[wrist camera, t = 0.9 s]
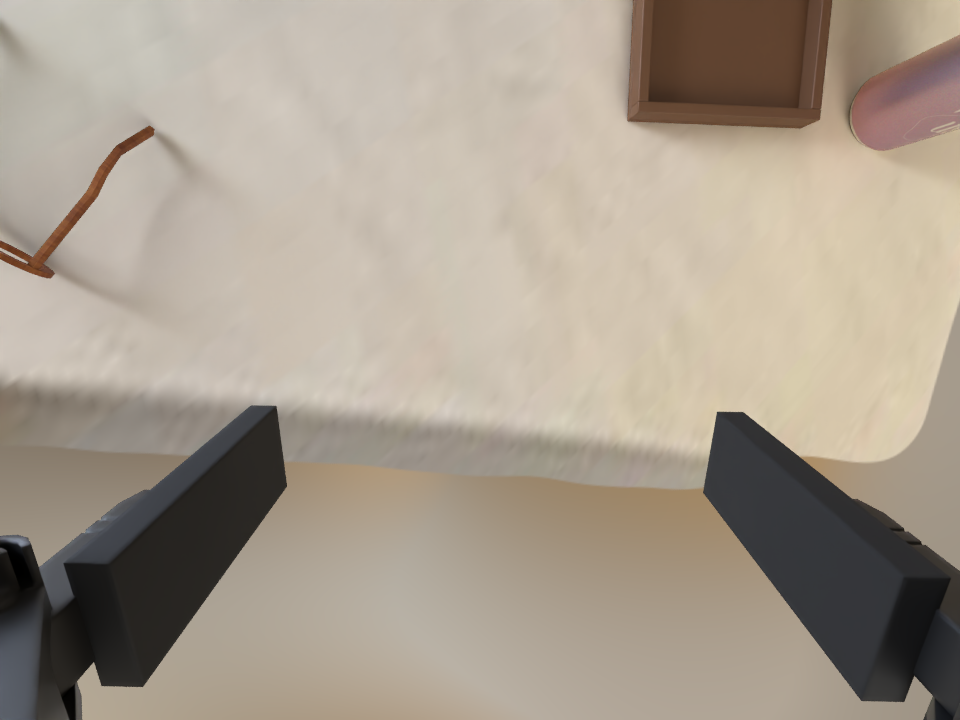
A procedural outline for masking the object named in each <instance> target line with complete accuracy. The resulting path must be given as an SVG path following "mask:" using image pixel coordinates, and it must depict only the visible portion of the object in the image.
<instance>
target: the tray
mask: <svg viewBox="0 0 960 720" xmlns="http://www.w3.org/2000/svg"><path fill="white" fill-rule="evenodd" d="M831 8H832V0H633V17H632V37H631V58H630V79H629V99H628V120H627V121H634V122H658V123H682V124H707V125H731V126H756V127H780V128H803V127H805V126H807V125H809V124H811V123H814V122H816V121H818V120H820V113H821V110H820V109H821V104H822V94H823V84H824V75H825V65H826V56H827V46H828V36H829V27H830V17H831Z"/></svg>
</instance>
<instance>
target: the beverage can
mask: <svg viewBox="0 0 960 720" xmlns="http://www.w3.org/2000/svg"><path fill="white" fill-rule="evenodd" d="M850 126H851V129H852V132H853V134H854V136H855V137H856V139H857V140H858V141H859V142H860V143H861V144H863V145H865V146H867V147H869V148H872V149H875V150H880V151H886V150H891V149H894V148H898V147H901V146H904V145H908V144H911V143H914V142H917V141H921V140H924V139H927V138H931V137H934V136H937V135H940V134H944V133H947V132H950V131H954V130H957V129H960V35H958V36H956V37H954V38H952V39H950V40H948V41H946V42H944V43H942V44H940V45H937V46H935V47H933V48H931V49H929V50H927V51H925V52H923V53H921V54H919V55H917V56H915V57H913V58H910V59H908V60H906V61H904V62H902V63H900V64H898V65H896V66H894V67H892V68H890V69H888V70H886V71H884V72H881V73H879V74H877V75H875V76H874V77H872V78H871V79H869V80H868V81H867V82H866V83H865V84H864V85H863V86H862V87H861V89H860V90H859V92H858V93H857V95H856V96H855V98H854V100H853V103H852V105H851V109H850Z"/></svg>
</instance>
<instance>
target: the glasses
mask: <svg viewBox="0 0 960 720" xmlns="http://www.w3.org/2000/svg"><path fill="white" fill-rule="evenodd" d="M153 135H154V129H153V128H152V127H151V126H148V127H146V128H145V129H143V130H141V131H140V132H138V133H136V134H135V135H133V136H131V137H130V138H128V139H127V140H125V141H123V142H122V143H120V144H118V145H117V146H116V147H115V148H114V149H113V151H112V152H111V153H110V154H109V156H108V157H107V158H106V159H105V161H104V162H103V163H102V164H101V166H100V167H99V169H98V171H97V173H96V175H95V177H94V178H93V180H92V182H91V184H90V186H89V188H88V190H87V192H86V193H85V194H84V195H83V196H82V198H81V199H80V200H79V201H78V203H77V204H76V205H75V206H74V208H73V209H72V210H71V211H70V212H69V214H68V215H67V216H66V217H65V219H64V220H63V221H62V222H61V224H60V225H59V226H58V227H57V228H56V230H55V231H54V232H53V233H52V235H51V236H50V237H49V238H48V239H47V241H46V242H45V243H44V244H43V246H42V247H41V248H40V249H39V251H38V252H37V253H36V254H35V255H34V257H31V256H30V255H28V254H26V253H24V252H22V251H20V250H19V249H17V248H15V247H13V246H11V245H9V244H7V243H5V242H2V241H0V248H2V249H4V250H7V251H9V252H11V253H13V254H14V255H16V256H18V257H20V258H22V259H24V260H25V261H27V262H29V263H28V264H26V263H24V262H21V261H19V260H17V259H15V258H13V257H11V256H9V255H7V254H5V253H3V252H1V251H0V259H1V260H3V261H5V262H7V263H9V264H11V265H13V266H15V267H18V268H20V269H22V270H24V271H27V272H29V273H32V274H35V275H38V276H41V277H45V278H52V276H53V275H54V274H55V273H54V271H53V270H51V269H50V268H49V267H47V266H46V265H44V264H43V263H44V262H45V261H46V260H47V258H48V257H49V256H50V255H51V254H52V252H53V251H54V250H55V249H56V247H57V246H58V245H59V244H60V242H61V241H62V240H63V239H64V237H65V236H66V235H67V234H68V233H69V231H70V230H71V229H72V228H73V226H74V225H75V224H76V223H77V221H78V220H79V219H80V218H81V217H82V215H83V214H84V213H85V212H86V210H87V209H88V208H89V207H90V205H91V204H92V203H93V202H94V200H95V199H96V198H97V197H98V195H99V193H100V190H101V188H102V186H103V184H104V182H105V180H106V178H107V176H108V174H109V173H110V171H111V170H112V168H113V167H114V165H115V164H116V162H117V161H118V159H119V158H120V156H121V155H123V154H124V153H126V152H127V151H129V150H131V149H132V148H134V147H135V146H137V145H139V144H140V143H142V142H143V141H145V140H147V139H148V138H150V137H151V136H153Z"/></svg>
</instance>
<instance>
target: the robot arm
mask: <svg viewBox="0 0 960 720" xmlns="http://www.w3.org/2000/svg"><path fill="white" fill-rule="evenodd" d="M286 487H287V483H286V475H285V467H284V460H283V452H282V445H281V437H280V429H279V422H278V414H277V407H276V406H250V407H249V408H247V409H246V410H245V411H244V412H243V413H242V414H240V415H239V416H238V417H237V418H236V419H234V420H233V421H232V422H231V423H230V424H228V425H227V426H226V427H225V428H224V429H222V430H221V431H220V432H219V433H218V434H216V435H215V436H214V437H213V438H212V439H210V440H209V441H208V442H207V443H206V444H205V445H203V446H202V447H201V448H200V449H199V450H197V451H196V452H195V453H194V454H193V455H191V456H190V457H189V458H188V459H187V460H186V461H184V462H183V463H182V464H181V465H180V466H178V467H177V468H176V469H175V470H174V471H172V472H171V473H170V474H169V475H168V476H166V477H165V478H164V479H163V480H162V481H160V482H159V483H158V484H157V485H156V486H155V487H153V488H152V489H151V490H143V491H141V492H139V493H138V494H135V495H134V496H132V497H130V498H128V499H126V500H124V501H122V502H120V503H119V504H117V505H116V506H115V507H114V508H113V509H111V510H110V511H109V512H107V513H106V514H105V515H104V516H102V518H101V520H98V521H96V522H95V523H94V524H93V525H91V526H90V527H89V528H88V529H86V532H85V533H81V534H80V535H79V536H78V537H76V538H75V539H74V540H73V541H71V542H70V543H69V544H68V545H67V546H65V547H64V548H63V549H61V550H60V551H59V552H58V553H56V554H55V555H54V556H53V557H51V558H50V559H49V560H48V561H46V562H45V563H44V564H43V565H42V566H40V567H38V564H37V561H36V558H35V555H34V552H33V549H32V546H31V543H30V541H29V539H28V538H27V537H23V536H19V535H6V536H0V720H82V700H81V693H80V690H79V687H78V684H77V681H78V679H79V678H80V677H81V676H82V675H83V674H84V672H85V671H86V670H87V669H88V668H89V667H90V665H91V664H92V663H93V662H94V663H95V666H96V670H97V673H98V676H99V679H100V682H101V685H102V686H124V687H127V686H128V687H143V686H144V685H145V683H146V682H147V680H148V679H149V678H150V676H151V675H152V674H153V672H154V671H155V669H156V668H157V667H158V665H159V664H160V662H161V661H162V660H163V658H164V657H165V655H166V654H167V653H168V651H169V650H170V648H171V647H172V646H173V644H174V643H175V641H176V640H177V639H178V637H179V636H180V634H181V633H182V632H183V630H184V629H185V628H186V626H187V624H188V623H189V622H190V621H191V619H192V618H193V616H194V615H195V614H196V612H197V611H198V609H199V608H200V607H201V605H202V604H203V603H204V601H205V600H206V598H207V597H208V596H209V594H210V593H211V591H212V590H213V589H214V587H215V586H216V584H217V583H218V581H219V580H220V579H221V577H222V576H223V575H224V573H225V572H226V570H227V569H228V568H229V566H230V565H231V563H232V562H233V561H234V559H235V558H236V557H237V555H238V554H239V552H240V551H241V550H242V548H243V547H244V545H245V544H246V543H247V541H248V540H249V538H250V537H251V536H252V534H253V533H254V531H255V530H256V529H257V527H258V526H259V525H260V523H261V522H262V520H263V519H264V518H265V516H266V515H267V513H268V512H269V511H270V509H271V508H272V506H273V505H274V504H275V502H276V501H277V499H278V498H279V497H280V495H281V494H282V493H283V491H284V490H285V488H286ZM703 493H704V494H705V496H706V497H707V498H708V499H709V501H710V502H711V504H712V505H713V506H714V507H715V509H716V510H717V511H718V513H719V514H720V515H721V517H722V518H723V519H724V521H725V522H726V523H727V525H728V526H729V527H730V529H731V530H732V531H733V532H734V534H735V535H736V536H737V538H738V539H739V540H740V542H741V543H742V544H743V546H744V547H745V548H746V550H747V551H748V552H749V554H750V555H751V556H752V557H753V559H754V560H755V561H756V563H757V564H758V565H759V567H760V568H761V569H762V571H763V572H764V573H765V575H766V576H767V577H768V579H769V580H770V581H771V582H772V584H773V585H774V586H775V588H776V589H777V590H778V591H779V593H780V594H781V596H782V597H783V598H784V600H785V601H786V602H787V603H788V605H789V606H790V607H791V609H792V610H793V611H794V613H795V614H796V615H797V617H798V618H799V619H800V621H801V622H802V623H803V625H804V626H805V627H806V629H807V630H808V631H809V632H810V634H811V635H812V636H813V638H814V639H815V640H816V642H817V643H818V644H819V646H820V647H821V648H822V650H823V651H824V652H825V654H826V655H827V656H828V657H829V659H830V660H831V661H832V663H833V664H834V665H835V667H836V668H837V669H838V671H839V672H840V673H841V674H842V676H843V677H844V679H845V680H846V681H847V682H848V684H849V685H850V686H851V687H852V689H853V690H854V691H855V693H856V694H857V696H858V697H859V698H860V700H861V701H888V702H892V701H893V702H904V701H905V698H906V695H907V693H908V690H909V688H910V685H911V683H912V680H913V677H914V676H915V677H916V678H917V679H918V680H919V681H920V682H921V683H922V684H923V685H924V686H925V688H926V689H927V690H928V691H929V692H930V693H931V694H932V695H933V697H932V700H931V702H930V705H929V707H928V710H927V712H926V714H925V717H924V719H923V720H960V571H959V570H957V569H956V568H955V567H953V566H952V565H951V564H950V563H948V562H947V561H946V560H944V559H943V558H942V557H940V556H939V555H938V554H936V553H935V552H934V551H932V550H931V549H930V548H929V547H927V546H926V545H922V544H921V541H920V540H918V539H917V538H916V537H914V536H913V535H912V534H911V533H909V532H905V531H904V528H903V527H901V526H900V525H899V524H898V523H896V522H895V521H894V520H892V519H891V518H890V517H888V516H887V515H886V514H885V513H883V512H881V511H879V510H877V509H875V508H873V507H871V506H869V505H867V504H866V503H864V502H862V501H860V500H858V499H852V498H850V497H849V496H848V495H846V494H845V493H844V492H843V491H841V490H840V489H839V488H838V487H836V486H835V485H834V484H833V483H831V482H830V481H829V480H828V479H826V478H825V477H824V476H823V475H821V474H820V473H819V472H818V471H816V470H815V469H814V468H812V467H811V466H810V465H809V464H808V463H806V462H805V461H804V460H803V459H801V458H800V457H799V456H798V455H796V454H795V453H794V452H793V451H791V450H790V449H789V448H788V447H786V446H785V445H784V444H783V443H781V442H780V441H779V440H777V439H776V438H775V437H774V436H772V435H771V434H770V433H769V432H767V431H766V430H765V429H764V428H762V427H761V426H760V425H759V424H757V423H756V422H755V421H754V420H752V419H751V418H750V417H749V416H747V415H746V414H745V413H744V412H717V416H716V422H715V427H714V433H713V439H712V445H711V450H710V456H709V462H708V468H707V473H706V479H705V485H704V491H703Z"/></svg>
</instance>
